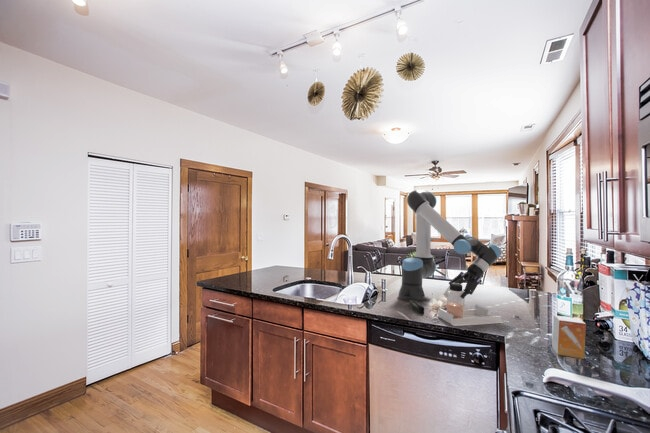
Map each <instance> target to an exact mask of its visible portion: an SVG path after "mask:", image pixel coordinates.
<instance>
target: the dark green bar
mask: <svg viewBox="0 0 650 433" xmlns="http://www.w3.org/2000/svg"><path fill="white" fill-rule="evenodd" d="M407 307H408V308H411V309H412V310H413V312H416V314H419V315H424V314H425V307H424V306H422V305H421V304H420V302H417V301H415V300H409V301H408V305H407Z"/></svg>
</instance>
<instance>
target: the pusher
mask: <svg viewBox="0 0 650 433" xmlns="http://www.w3.org/2000/svg"><path fill="white" fill-rule="evenodd" d="M474 309H475V315H477V316H479V317H486V316H491V310H490V309H489V308H487V307H484V306H482V305H479V304H478V303H477V304H474Z"/></svg>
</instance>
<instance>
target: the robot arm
mask: <svg viewBox="0 0 650 433" xmlns="http://www.w3.org/2000/svg"><path fill="white" fill-rule="evenodd" d="M406 202H407V205H408V207H409V208H410V209H411V210H412V211H413V213H414V214H415V215H416V216H415V218H416V223H415V224H416V225H415V226H416V231H415V235H416V237H415V239H416V240H415V243H416V247H415V254H414V255H413V257H406V258H405V259H403V260H402V265H401V286H400V289H399V291H398V295H397V296H398V298H399V300H402V301H406V302H409V300H415V301H417V302H418V303H420V302H424V301H425V300H426V295H425V292H424V288H423V279H425V278H429V277H431V276H433V275H434V273H435V272H436V270H437V266H436V262H435V260H434V256H433V255H432V254H431V251H432V250H431V243H432V242H431V241H432V240H431V238H432V236H431V234H432V231H431V228H432V227H433V229H434V230H436V231H437V232H438V233H439V234H440V235H441V237H443V238H444V239H445V240H446V241H447V242H448V243H449V244H451V245H452V246H453V249H454V252H456V254H459V255H467V254H469V253H472V254H473V255H474V256H477V257H476V258H474V260H473V261H472V263H471V264H470V265H469V266H468V267H467V269H466V270H467V271H466V272H463V271H461V272H459V274H458V275H456V276H455V277H454V278H453V279H451V280H450V281H449V282H448V285H449V286H448V287H447V288H446V290H445V291H444V292H443V293H442V295H443V297H444V298H445V299H447V291H450V284H451V283H459V284H461V285H463V284H465V283H466V284H465V287H464V289H463V290H462V292H461V293H460V294H459V295H458V296H457V297H456V298H455V299H454V300H455V301H456V302H457V303H459V302H460V301H461V300H462V299H463V298H464V299H465V298H466V297H467V295H473V294H474V292H475V290H476V288H477V286H478V285H479V284H480V283H481V282H482V280H481V279H480V278H481V277H482V276H483V275H484V273H486V272H487V270H488V269H489V268H491V266H492V265H493V264H494V263H495V262H496V261H497V260H498V258H499V257H500V256H501V255H502V250H501V249H500V247H499V246H497V245H496V244H493V243H489V244H488V245H487V244H485V243H483V242H482V241H480V240H479V239H477V238H475V237H474V236H472V235H470V234H466V235H463V234H462V233H461V232H460V231H459V230H458V229H457V228H456V227H455V226H453V225H452V224H451V223H450V222H449V221H448V220H447V219H445V217H444V216H442V215H441V214H440V213H439V212H438V211H436V210H435V209H434V208H435V207H436V205H437V198H436V195H435V194H434V193H433V192H430V191H428V190H420V189H417V190H416V189H415V190H412V191H411V192H409V194H408V195H407V198H406Z"/></svg>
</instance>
